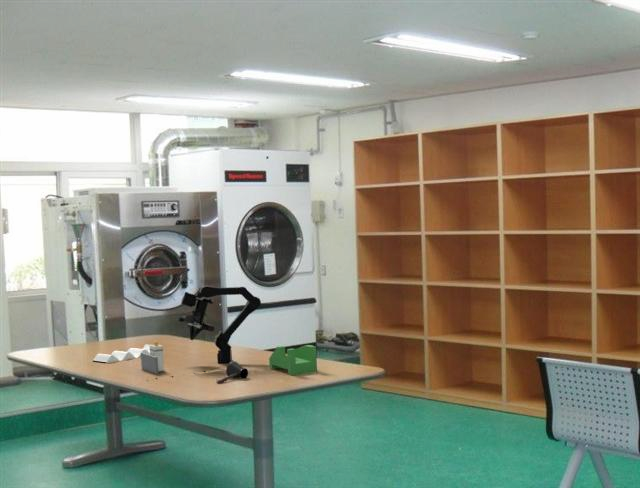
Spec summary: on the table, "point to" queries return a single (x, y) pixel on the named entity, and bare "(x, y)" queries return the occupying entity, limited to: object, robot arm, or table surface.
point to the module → (157, 354)
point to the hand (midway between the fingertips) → (191, 340)
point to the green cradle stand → (295, 359)
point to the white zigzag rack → (122, 355)
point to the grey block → (150, 363)
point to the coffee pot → (234, 372)
